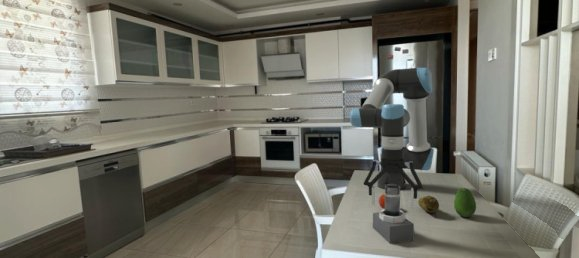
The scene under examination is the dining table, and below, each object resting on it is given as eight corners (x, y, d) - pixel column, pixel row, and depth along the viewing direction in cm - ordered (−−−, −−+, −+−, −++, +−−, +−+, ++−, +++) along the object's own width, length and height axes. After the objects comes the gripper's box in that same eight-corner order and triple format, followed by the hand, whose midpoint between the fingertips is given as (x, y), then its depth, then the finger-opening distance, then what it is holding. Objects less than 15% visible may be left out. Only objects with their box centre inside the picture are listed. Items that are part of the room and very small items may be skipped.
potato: (438, 208, 139) (439, 190, 138) (439, 219, 127) (439, 200, 127) (418, 206, 143) (418, 188, 142) (416, 216, 131) (417, 197, 130)
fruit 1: (390, 213, 135) (390, 195, 134) (376, 209, 140) (375, 192, 139) (397, 208, 140) (397, 191, 139) (383, 205, 145) (383, 188, 144)
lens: (384, 220, 114) (384, 187, 112) (384, 214, 118) (385, 182, 117) (399, 221, 112) (400, 188, 110) (399, 216, 117) (400, 183, 115)
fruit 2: (477, 221, 124) (478, 192, 123) (455, 219, 127) (456, 190, 125) (473, 214, 131) (474, 186, 130) (452, 212, 134) (453, 184, 133)
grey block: (372, 227, 121) (372, 207, 120) (394, 225, 123) (394, 205, 122) (389, 243, 109) (389, 221, 108) (413, 240, 110) (413, 218, 109)
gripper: (355, 148, 113) (356, 205, 115) (431, 150, 105) (430, 212, 107) (358, 145, 120) (358, 199, 122) (429, 146, 112) (428, 204, 114)
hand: (392, 205), depth 115 cm, fingers open, 13 cm apart
